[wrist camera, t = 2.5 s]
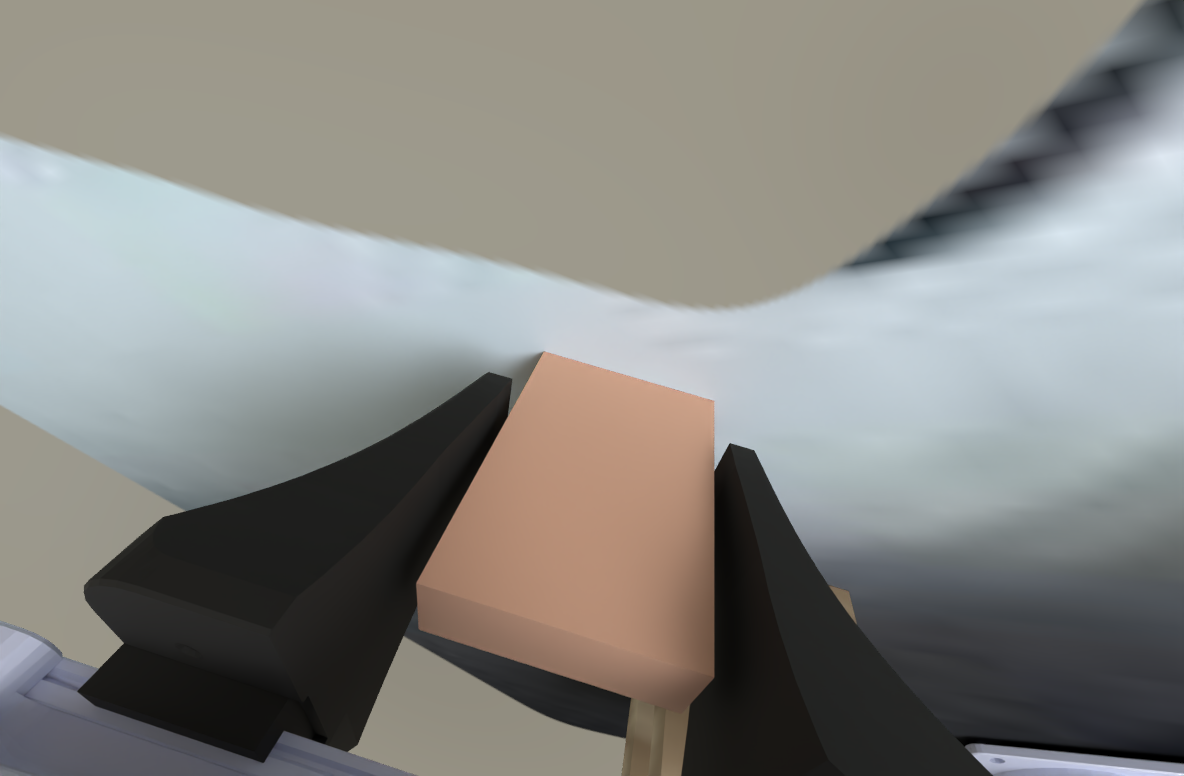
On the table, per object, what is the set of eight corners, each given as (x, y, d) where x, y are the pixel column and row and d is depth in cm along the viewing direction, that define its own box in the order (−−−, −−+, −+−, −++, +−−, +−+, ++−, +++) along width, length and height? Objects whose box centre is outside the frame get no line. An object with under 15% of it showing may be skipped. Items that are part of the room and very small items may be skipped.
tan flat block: (771, 664, 20) (794, 904, 14) (661, 629, 20) (641, 853, 14) (789, 648, 19) (820, 899, 13) (673, 611, 19) (655, 844, 14)
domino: (731, 702, 23) (736, 916, 17) (634, 671, 23) (609, 873, 17) (744, 690, 22) (754, 912, 16) (643, 658, 22) (619, 867, 16)
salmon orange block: (694, 442, 14) (681, 714, 8) (536, 396, 14) (418, 629, 8) (714, 401, 13) (713, 677, 7) (544, 351, 13) (416, 582, 7)
